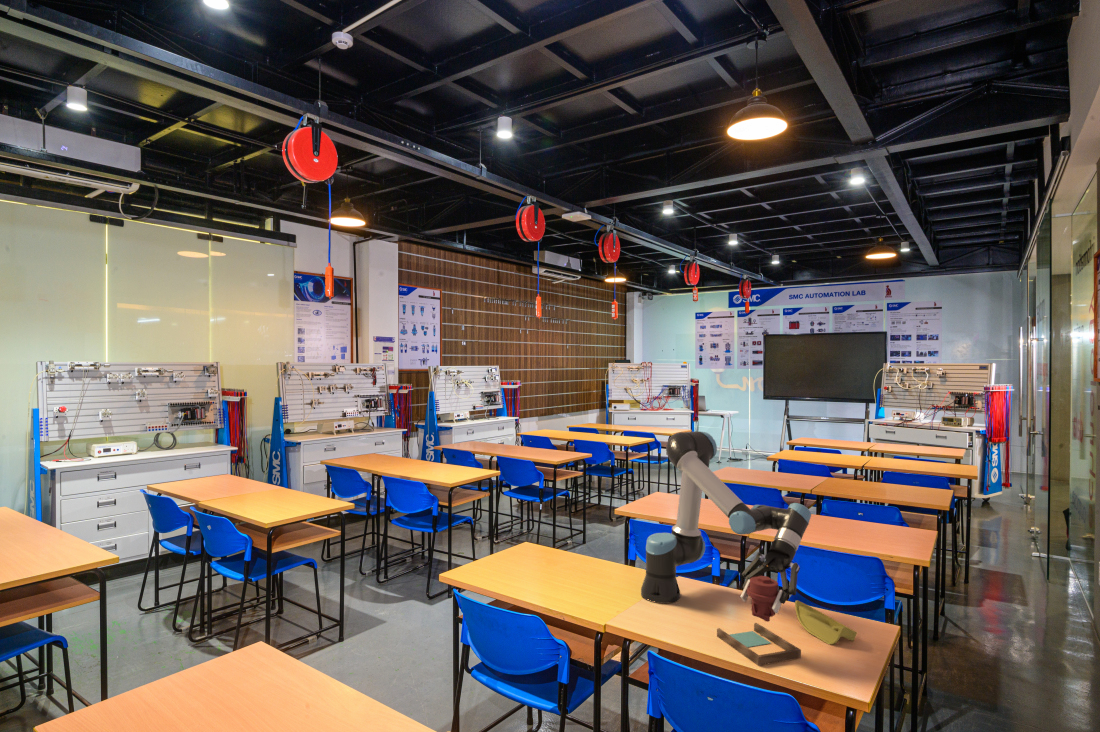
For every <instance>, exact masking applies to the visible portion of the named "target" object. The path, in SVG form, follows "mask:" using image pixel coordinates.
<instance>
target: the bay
mask: <svg viewBox="0 0 1100 732" xmlns="http://www.w3.org/2000/svg"><path fill="white" fill-rule="evenodd" d="M753 624H754V625H753V631H752V630H750V631H744V632H737V633H730V634H729V633H727V632H726V631H724V630H723V629H721V628H720V627H719V628H717V629H716V637H717V638H719V639H720V640H722V641H723V642H724V643H726V644H727V645H728V646H730V647H731V648H732V649H734V650H735V651H737V652H738V653H739V654H741V655H742V656H744V657H745V658H747V659H748V660H749V661H751V662H752V663H754V664H755V665H757V666H758V667H760V666H765V665H770V664H777V663H782V662H786V661H792V660H797V659H801V658H802V649H801V648H799V647H797V646H795V645H793V643H790V642H789V641H788V640H786V639H785V638H782V637H781V636H779V635H778V634H776V633H774V632H773V631H771V630H769V629H767V628H766V627H765V626H763V625H761V624H760V623H757V622H754V623H753ZM772 643H773V644H775V645H776V646H778V647H780V648H781V649H783V650H781V651H780V650H779V651H777V652H776V651H775V652H770V653H764V654H757V652H755V651H754V650H752V649H750V648H753V647H759V646H764V645H770V644H772Z"/></svg>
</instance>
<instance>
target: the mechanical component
mask: <svg viewBox="0 0 1100 732" xmlns="http://www.w3.org/2000/svg"><path fill="white" fill-rule="evenodd" d="M779 591H780V590H779V582H778V581H776V580H775V579H773V578H770V577H769V576H765V575H761V576H758V577H752V578H750V586H749V587H748V588H747V595H748V598H751V615H752V616H754V617H756V618H758V619H759V618H760V619H762V620H763V621H764V622H767V623H769V622H770V621H771V618H773V617H774V616H775V615H776V613H775V612H774V611H773V609H772V607H773V604H774V602H775V600H776V597H777V595H778V593H779Z"/></svg>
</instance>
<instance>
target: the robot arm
mask: <svg viewBox="0 0 1100 732" xmlns="http://www.w3.org/2000/svg"><path fill="white" fill-rule="evenodd" d="M665 451H666V455H667V457H668V459H669V461H670V463H672V465H673V466H674V467H675V469H677V470H678V471H682V473H681V480H680V490H679V498H678V507H677V514H676V515H677V516H676V523H675V524H674V525H673V526H672V527H671V533H670V532H656V533H655V532H654V533H653V534H651V535H649V536H648V537H647V539H646V545H645V576H644V579H643V581H642V584H641V588H640V595H641V598H643V599H645V600H647V599H649V600H651V601H650V602H652V601H655V602H654V603H657V602H659V603H658V604H674V603H676V602H679V601H680V599H681V590H680V587H679V582H678V580H677V567H679V566H684V565H686V564H692V563H695V562H697V561H699V560H701V559H702V557H703V556H704V554H705V551H706V542H705V540H704V537H703V536H702V531H701V530H700V529H699V519H700V514H701V513H700V512H701V511H700V510H701V503H702V495H703V493H704V494H705V495H706V497H708V498H709V499H710V500H711V502H712V503H714V505H715V506H716V507H717V508H718V509H719V510H720V511H721V512H722V513H723V514H724V515H725V516H726V517H727V518H728V525H729V527H730V529H731V531H732V532H733V533H735V534H736V535H741V536H743V535H750V534H752V533H755V532H760V531H765V530H770V529H772V530H776V534H775V536H774V538H773V541H772V542H771V544H770V548H768V549H769V550H768V552H767V554H762V552H759V551H758V552H757V553H756V555H755V558H754V559H753V560H752V561H751V562H750V564H749V565H748V566H747V567H746V568H745V569H744V570H743V572H742V573H741V575H742V577H743V578H744V579H745V580H744V583H743V584H742V589H743V590H742V593H740V594H741V595H739V596H740V598H741V600H742V601H743V602H745V603H746V602H747V600H748V598H749V596H748V595H747V588H748V587H749V586H750V578H752V577H758V576H764V574H766V573H767V572H770V571H773V572H776V573H780V574H779V575H780V581H781V587H782V589H779V590H778V591H779V593H778V595H777V597H776V600H775V602H774V604H773V607H772V609H773V611H774V612H775V614H778V613H779V610H780V608H781V606H782V604H783V605H784V604H785V603H786V601H787V600H788V597H789V596H791V595H792V596H796V594H797V585H798V573H799V572H800V570H801V568H800V565H799V564H798V563H797V562H794V563H793V561H794V558H795V556H796V554H797V551H798V550H799V546H800V544H801V542H802V539H803V537H804V535H805V532H806V530H807V528H808V526H809V525H810V521H811V517H812V512H811V510H810V509H809V508H808V507H807V506H806V505H803V504H801V503H799V502H798V503H797V502H793V503H790V504H789V505H788V507H787V508H780V507H777V506H776V507H775V506H769V505H766V504H754V505H753V506H752V507H751V508H750V507H749V506H748V505H746V503H745V502H743V501H742V499H740V498H739V497H738V496H737V495H736V494H735V492H733V490H731V489H730V487H728V485H726V484H725V483H724V482H723V481H722V480H721V479H720V478H719V477H718V476H717V475H716V474H715V473H714V472H713V471H712V470H711V469H710V460H713V458H714V457H715V456H716V454H717V452H718V446H717V442H716V440H715V439H714V437H713V436H712V435H711V434H710V433H708V432H706V431H699V430H694V431H687V432H686V431H685V432H683V431H681V432H676V433H674V434H672V435H671V436H670V437H669V438H668V440H667V442H666V446H665ZM789 568H790V576H789V577H790V578H789V583H788V575H787V569H789ZM649 600H648V601H649Z"/></svg>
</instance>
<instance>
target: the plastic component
mask: <svg viewBox="0 0 1100 732" xmlns="http://www.w3.org/2000/svg"><path fill="white" fill-rule="evenodd" d="M794 608H795V610H794V611H795V613H796V617H797V619H798V621H799V623H800V625H801V627H803V628H804V630H805V631H807V632H808V633H809V634H811V635H813V637H815V638H817V639H818V640H820V641H822V642H824V643H825V644H828V645H830V646H831V645H833V646H834V645H835V644H837V643H838V641H839V640H840V638H841V637H842V638H845V639H846V640H849V641H851V642H854V641H855V639H856V637H857V634H858V632H857V631H856V630H853V629H852V628H850V627H848V626H846V625H844V624H843V623H841V622H839V621H837V620H835V619H834V618H832V617H830V616H828V615H826V614H824V613H823V612H821V611H819V610H817V609H816V608H814V607H812V606H810V605H809V604H806V603H804V602H802V601H800V600H795V602H794Z"/></svg>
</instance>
